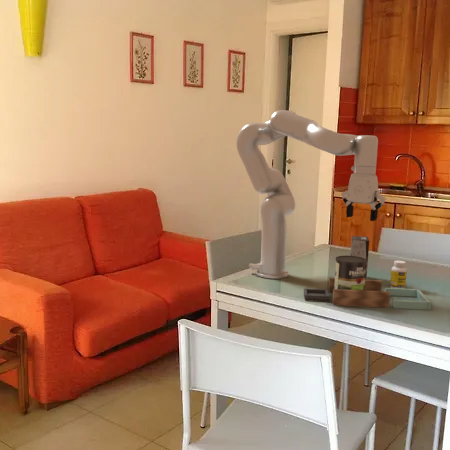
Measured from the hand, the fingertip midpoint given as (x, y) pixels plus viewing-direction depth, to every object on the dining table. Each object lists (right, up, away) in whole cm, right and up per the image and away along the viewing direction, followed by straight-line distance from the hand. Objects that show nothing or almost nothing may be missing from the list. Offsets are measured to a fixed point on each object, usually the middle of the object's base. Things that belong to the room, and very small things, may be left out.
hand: (361, 218), depth 196 cm
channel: (-4, -28, -9) cm, 29 cm away
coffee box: (+3, -23, +17) cm, 29 cm away
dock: (+12, -28, -11) cm, 32 cm away
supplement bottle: (+15, -25, +6) cm, 30 cm away
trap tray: (-17, -27, -8) cm, 33 cm away
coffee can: (-7, -28, -9) cm, 30 cm away
